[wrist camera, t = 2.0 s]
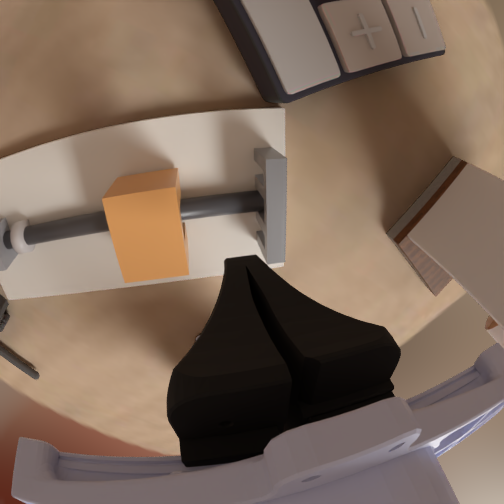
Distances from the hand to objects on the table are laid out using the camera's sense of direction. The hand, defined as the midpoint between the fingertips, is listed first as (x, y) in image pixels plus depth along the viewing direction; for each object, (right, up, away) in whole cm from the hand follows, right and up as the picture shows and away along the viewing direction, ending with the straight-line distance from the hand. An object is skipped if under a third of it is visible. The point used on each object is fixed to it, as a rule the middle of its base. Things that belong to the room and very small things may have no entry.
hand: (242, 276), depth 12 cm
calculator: (+6, +18, +3) cm, 19 cm away
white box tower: (+20, +4, +14) cm, 25 cm away
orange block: (-6, +4, +6) cm, 10 cm away
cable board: (-10, +4, +7) cm, 13 cm away
